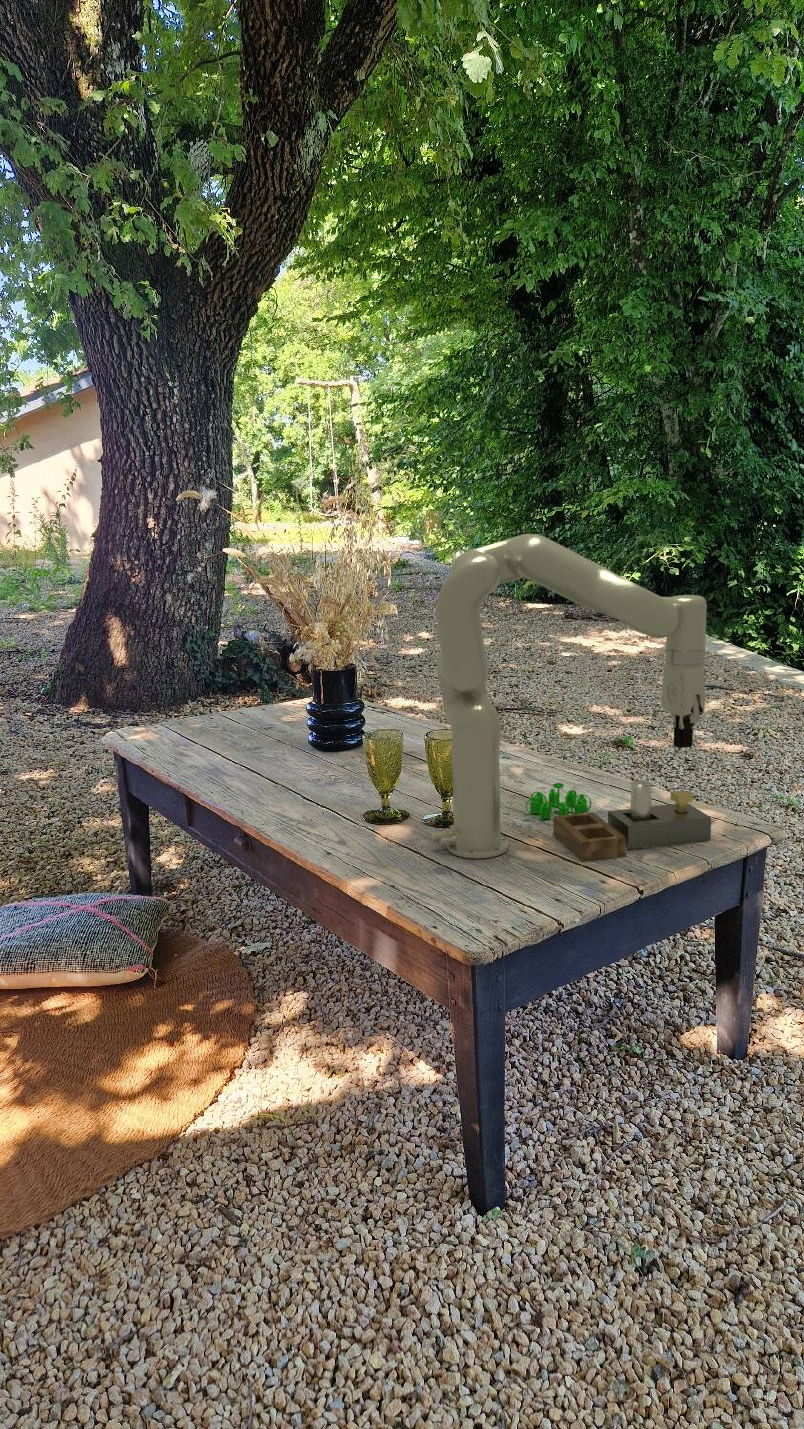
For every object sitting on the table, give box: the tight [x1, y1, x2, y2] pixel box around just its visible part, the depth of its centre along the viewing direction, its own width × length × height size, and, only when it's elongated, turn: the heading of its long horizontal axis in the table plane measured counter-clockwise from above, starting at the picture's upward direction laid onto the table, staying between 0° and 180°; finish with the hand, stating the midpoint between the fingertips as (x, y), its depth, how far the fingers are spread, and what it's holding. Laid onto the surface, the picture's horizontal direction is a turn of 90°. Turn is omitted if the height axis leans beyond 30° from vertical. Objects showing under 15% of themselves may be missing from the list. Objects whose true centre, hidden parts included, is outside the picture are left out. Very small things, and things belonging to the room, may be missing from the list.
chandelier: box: [525, 782, 592, 821], centre depth 205 cm, size 15×15×7 cm
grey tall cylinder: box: [630, 780, 652, 822], centre depth 186 cm, size 4×4×12 cm
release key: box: [670, 790, 693, 814], centre depth 188 cm, size 3×3×6 cm
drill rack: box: [552, 811, 626, 863], centre depth 185 cm, size 9×16×4 cm, turn 11°
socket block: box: [607, 802, 712, 851], centre depth 188 cm, size 18×10×5 cm, turn 101°
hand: (682, 746), depth 185 cm, fingers closed
